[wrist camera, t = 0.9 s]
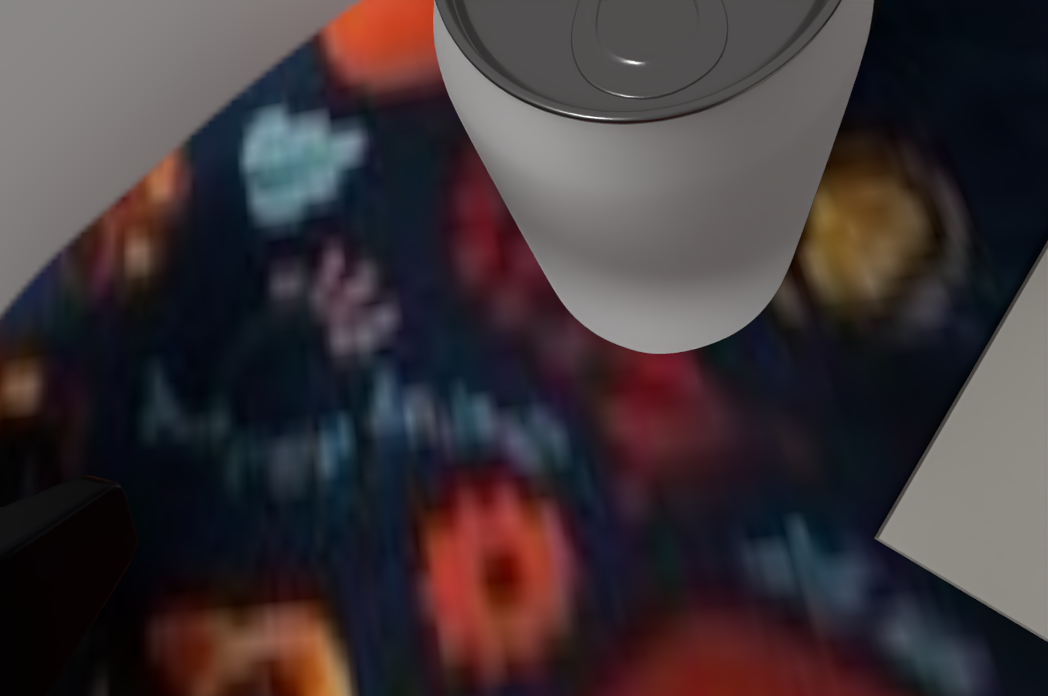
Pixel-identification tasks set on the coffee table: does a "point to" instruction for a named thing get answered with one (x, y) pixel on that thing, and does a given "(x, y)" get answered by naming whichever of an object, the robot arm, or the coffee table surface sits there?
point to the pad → (990, 473)
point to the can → (655, 145)
